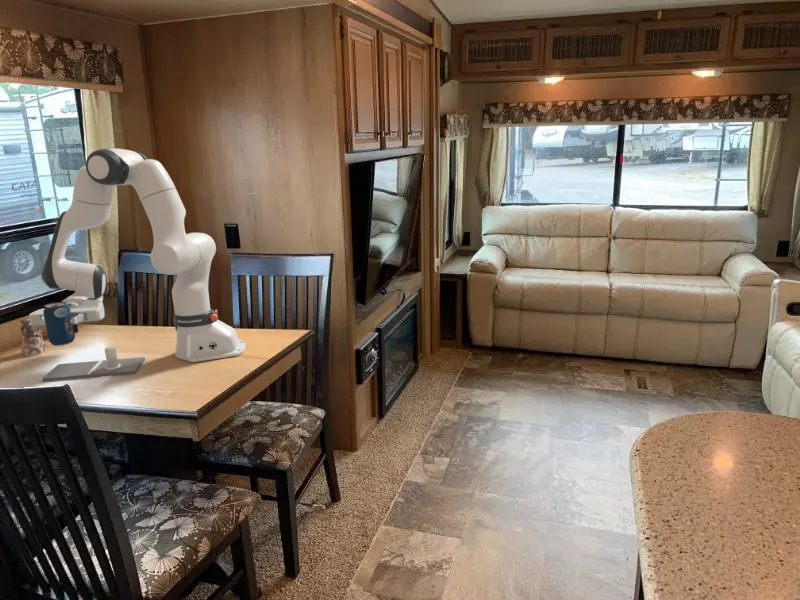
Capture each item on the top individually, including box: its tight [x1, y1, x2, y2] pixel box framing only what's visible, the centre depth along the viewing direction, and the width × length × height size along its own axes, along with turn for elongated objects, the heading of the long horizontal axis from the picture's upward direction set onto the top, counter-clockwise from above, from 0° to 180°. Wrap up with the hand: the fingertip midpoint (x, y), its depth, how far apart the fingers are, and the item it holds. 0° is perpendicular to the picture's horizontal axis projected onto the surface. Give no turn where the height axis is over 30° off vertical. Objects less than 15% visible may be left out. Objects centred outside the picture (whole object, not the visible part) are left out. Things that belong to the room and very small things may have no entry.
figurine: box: [20, 318, 48, 357], centre depth 198 cm, size 7×7×12 cm
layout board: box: [41, 346, 146, 383], centre depth 181 cm, size 26×12×7 cm, turn 99°
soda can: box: [43, 301, 76, 347], centre depth 175 cm, size 7×7×12 cm
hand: (57, 322), depth 174 cm, fingers closed on soda can, 7 cm apart
